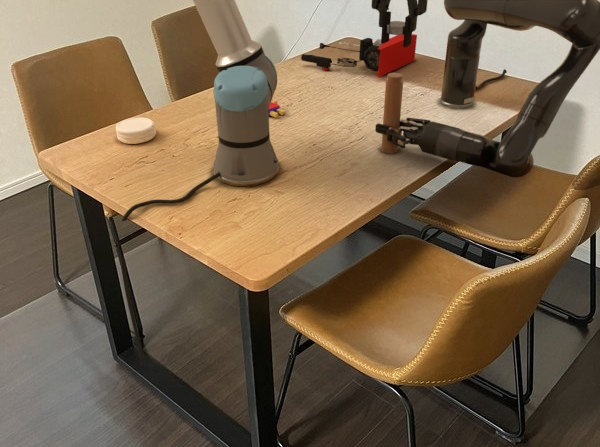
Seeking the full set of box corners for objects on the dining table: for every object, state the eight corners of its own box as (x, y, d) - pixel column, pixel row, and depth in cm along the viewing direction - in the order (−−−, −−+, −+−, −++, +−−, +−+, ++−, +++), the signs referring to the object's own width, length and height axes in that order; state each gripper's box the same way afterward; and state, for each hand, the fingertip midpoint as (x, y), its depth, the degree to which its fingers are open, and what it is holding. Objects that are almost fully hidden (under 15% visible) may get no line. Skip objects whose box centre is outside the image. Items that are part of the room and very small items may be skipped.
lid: (411, 32, 138) (412, 24, 138) (396, 36, 136) (396, 27, 135) (397, 28, 142) (398, 20, 141) (381, 31, 139) (382, 23, 138)
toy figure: (289, 106, 174) (261, 93, 181) (270, 113, 170) (242, 99, 177) (289, 115, 175) (261, 101, 182) (270, 121, 171) (243, 107, 178)
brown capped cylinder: (378, 149, 155) (382, 75, 144) (388, 144, 157) (393, 70, 147) (390, 154, 152) (396, 79, 142) (401, 149, 154) (407, 75, 144)
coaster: (128, 148, 157) (126, 135, 155) (110, 136, 163) (108, 123, 162) (163, 136, 162) (161, 124, 161) (144, 125, 169) (142, 113, 167)
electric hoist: (300, 34, 205) (379, 49, 190) (342, 21, 224) (417, 33, 209) (299, 65, 210) (376, 81, 195) (341, 49, 229) (414, 63, 214)
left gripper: (357, -70, 129) (353, 42, 142) (438, -64, 121) (426, 54, 134) (373, -74, 135) (368, 34, 147) (452, -69, 127) (439, 45, 139)
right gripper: (460, 116, 147) (396, 101, 155) (432, 137, 137) (366, 119, 146) (456, 145, 151) (394, 128, 159) (429, 167, 141) (365, 148, 150)
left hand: (395, 43), depth 140 cm, fingers closed on lid, 5 cm apart
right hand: (381, 124), depth 153 cm, fingers closed on brown capped cylinder, 4 cm apart
